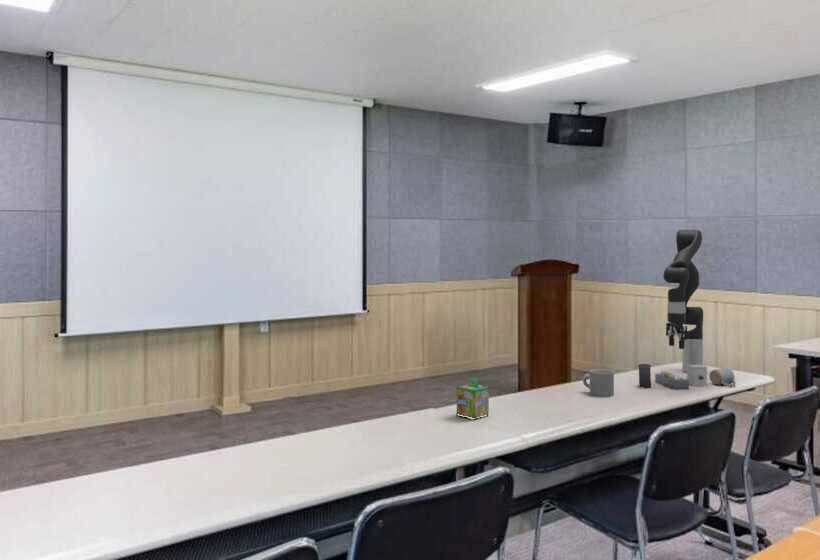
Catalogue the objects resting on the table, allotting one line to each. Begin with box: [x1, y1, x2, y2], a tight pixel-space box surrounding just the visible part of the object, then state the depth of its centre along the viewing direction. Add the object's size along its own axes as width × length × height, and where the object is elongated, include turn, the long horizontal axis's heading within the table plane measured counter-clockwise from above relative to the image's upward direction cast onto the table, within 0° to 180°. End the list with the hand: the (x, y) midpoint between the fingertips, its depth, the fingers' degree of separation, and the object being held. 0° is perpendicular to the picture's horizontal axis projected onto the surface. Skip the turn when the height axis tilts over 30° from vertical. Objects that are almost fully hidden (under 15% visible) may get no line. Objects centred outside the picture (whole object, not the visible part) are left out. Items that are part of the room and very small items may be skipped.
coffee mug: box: [582, 368, 615, 398], centre depth 276 cm, size 13×10×10 cm
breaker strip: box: [654, 370, 690, 391], centre depth 289 cm, size 17×7×6 cm, turn 6°
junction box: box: [686, 364, 708, 387], centre depth 290 cm, size 7×6×9 cm
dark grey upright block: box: [637, 363, 652, 389], centre depth 287 cm, size 5×5×10 cm
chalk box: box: [456, 376, 490, 418], centre depth 241 cm, size 9×9×15 cm
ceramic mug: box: [709, 366, 736, 388], centre depth 288 cm, size 11×8×8 cm
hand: (676, 347), depth 284 cm, fingers open, 8 cm apart
